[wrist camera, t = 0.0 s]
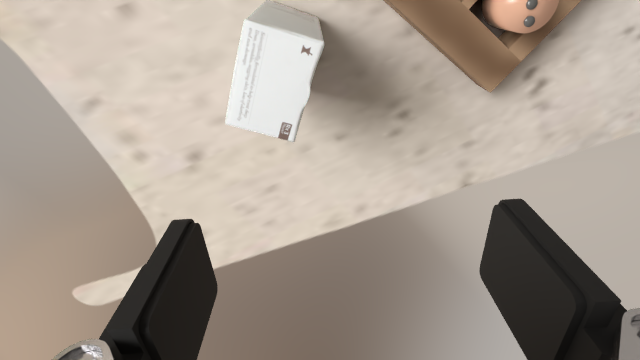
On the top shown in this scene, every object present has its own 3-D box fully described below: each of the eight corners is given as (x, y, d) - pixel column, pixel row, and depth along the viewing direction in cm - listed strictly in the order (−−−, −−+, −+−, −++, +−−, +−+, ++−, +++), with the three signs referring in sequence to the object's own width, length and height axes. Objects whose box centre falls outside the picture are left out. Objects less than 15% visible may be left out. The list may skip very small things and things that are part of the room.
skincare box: (266, -2, 35) (239, 7, 22) (322, 18, 36) (328, 37, 23) (249, 78, 39) (218, 125, 26) (300, 93, 40) (295, 146, 27)
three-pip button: (510, -39, 32) (538, -43, 28) (541, -5, 34) (572, -3, 30) (471, 7, 34) (492, 10, 30) (502, 38, 36) (526, 45, 32)
